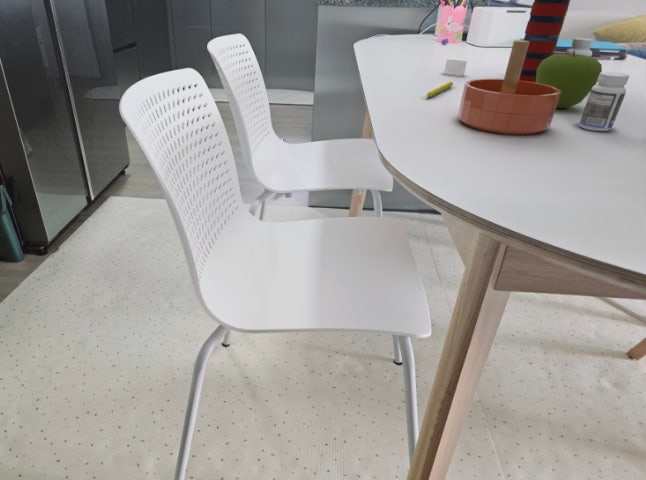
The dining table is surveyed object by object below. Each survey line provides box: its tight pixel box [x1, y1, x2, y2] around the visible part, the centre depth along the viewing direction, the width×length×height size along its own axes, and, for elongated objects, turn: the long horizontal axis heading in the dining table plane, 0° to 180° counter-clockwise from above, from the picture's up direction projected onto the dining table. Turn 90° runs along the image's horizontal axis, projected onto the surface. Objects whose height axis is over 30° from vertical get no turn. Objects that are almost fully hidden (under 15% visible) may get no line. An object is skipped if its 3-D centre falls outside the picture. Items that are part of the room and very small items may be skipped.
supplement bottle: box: [564, 37, 594, 57], centre depth 108 cm, size 5×5×10 cm
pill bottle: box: [578, 71, 630, 132], centre depth 75 cm, size 5×5×8 cm
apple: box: [536, 51, 603, 109], centre depth 87 cm, size 11×10×10 cm
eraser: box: [443, 58, 468, 77], centre depth 119 cm, size 1×5×4 cm, turn 62°
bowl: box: [457, 78, 561, 135], centre depth 77 cm, size 14×14×6 cm
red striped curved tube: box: [519, 0, 571, 82], centre depth 104 cm, size 25×7×25 cm, turn 150°
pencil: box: [426, 81, 454, 98], centre depth 100 cm, size 16×1×1 cm, turn 146°
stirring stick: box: [500, 39, 529, 94], centre depth 75 cm, size 2×2×12 cm
